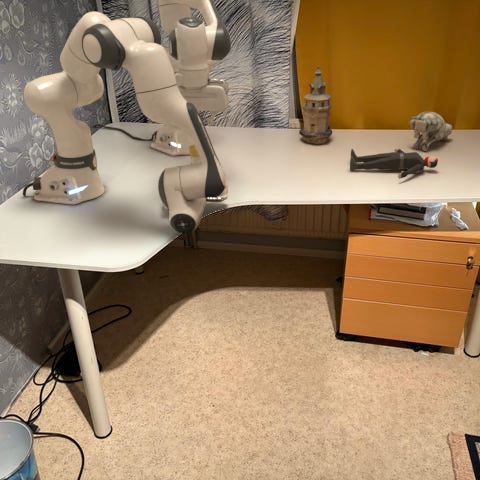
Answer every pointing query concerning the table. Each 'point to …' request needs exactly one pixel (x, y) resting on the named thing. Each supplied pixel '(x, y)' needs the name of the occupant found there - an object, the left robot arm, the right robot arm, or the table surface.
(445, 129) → the figurine
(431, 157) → the toy
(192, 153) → the lid
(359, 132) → the table surface
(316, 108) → the miniature building
